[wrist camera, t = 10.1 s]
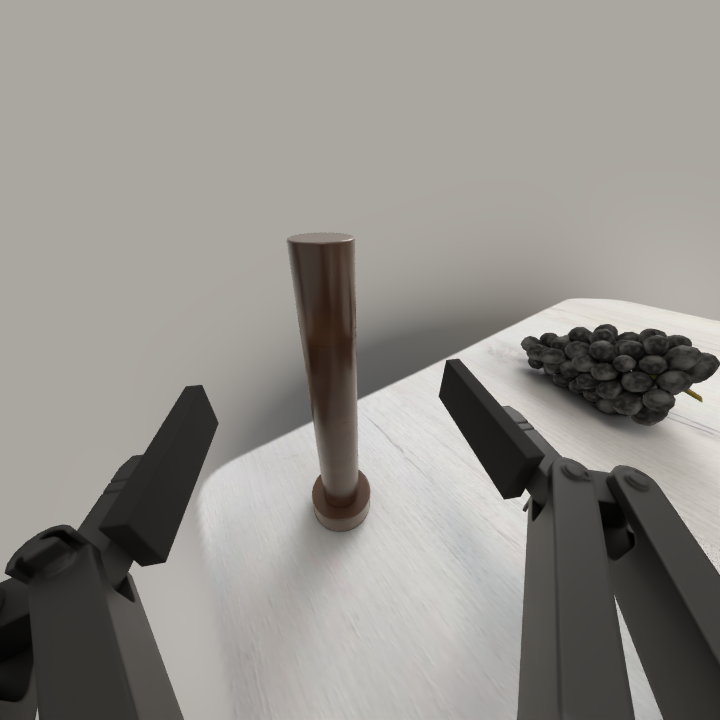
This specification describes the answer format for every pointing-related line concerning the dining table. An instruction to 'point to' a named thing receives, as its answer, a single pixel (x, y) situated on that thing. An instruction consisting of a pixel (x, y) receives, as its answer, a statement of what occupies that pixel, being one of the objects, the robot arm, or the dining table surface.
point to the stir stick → (331, 371)
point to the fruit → (623, 368)
